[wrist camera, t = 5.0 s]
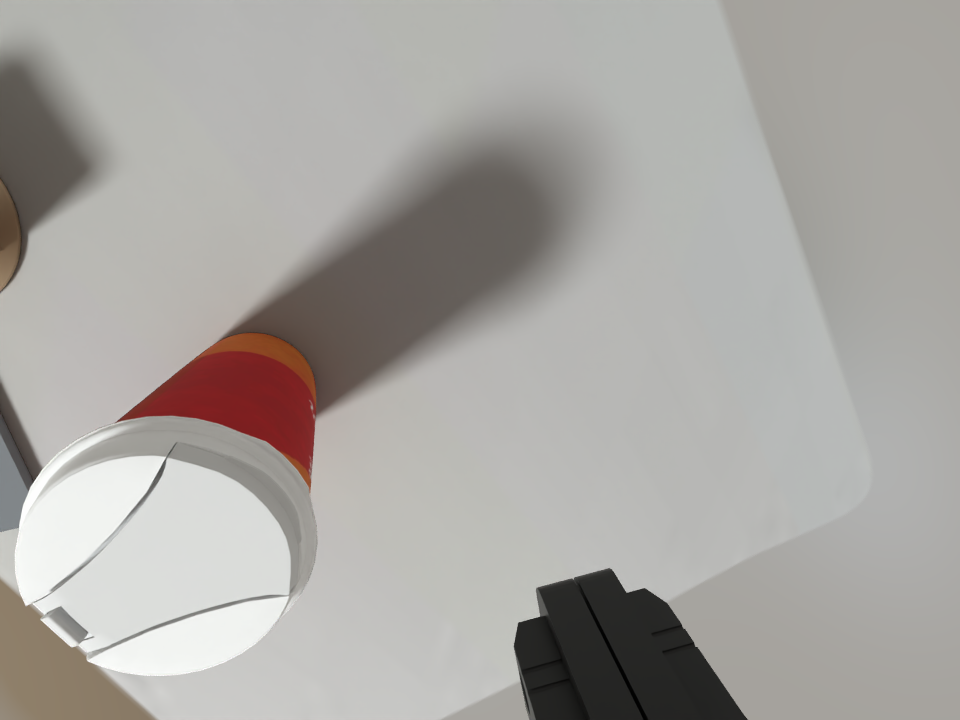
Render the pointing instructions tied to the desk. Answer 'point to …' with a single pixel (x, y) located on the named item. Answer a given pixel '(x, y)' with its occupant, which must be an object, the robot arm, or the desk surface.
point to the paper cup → (180, 516)
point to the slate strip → (11, 480)
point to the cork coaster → (8, 236)
